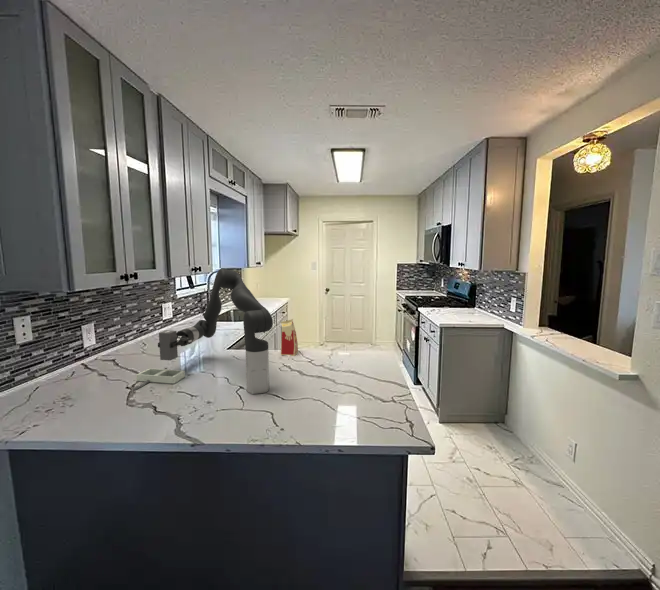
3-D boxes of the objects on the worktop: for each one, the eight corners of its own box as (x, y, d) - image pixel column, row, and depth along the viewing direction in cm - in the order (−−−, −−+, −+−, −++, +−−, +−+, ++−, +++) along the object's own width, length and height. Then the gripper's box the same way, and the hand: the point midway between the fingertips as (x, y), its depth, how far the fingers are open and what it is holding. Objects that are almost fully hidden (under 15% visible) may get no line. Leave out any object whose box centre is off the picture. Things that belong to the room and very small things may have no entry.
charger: (170, 360, 147) (169, 333, 145) (160, 359, 147) (158, 332, 146) (177, 357, 152) (176, 330, 150) (167, 356, 152) (166, 330, 151)
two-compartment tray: (160, 392, 137) (159, 385, 137) (120, 389, 140) (120, 382, 140) (184, 377, 154) (184, 370, 153) (149, 375, 157) (148, 368, 156)
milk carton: (298, 351, 196) (297, 317, 193) (294, 356, 187) (294, 320, 184) (282, 351, 197) (282, 317, 194) (278, 355, 188) (278, 320, 185)
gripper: (173, 327, 163) (149, 336, 147) (200, 329, 161) (179, 337, 144) (174, 343, 164) (150, 353, 148) (201, 344, 162) (179, 355, 145)
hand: (164, 345), depth 146 cm, fingers closed on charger, 5 cm apart
